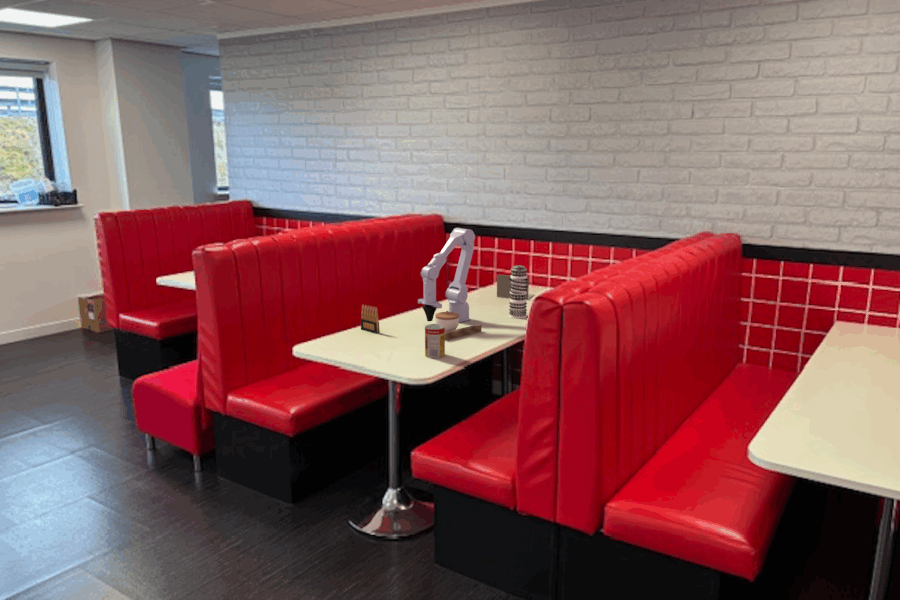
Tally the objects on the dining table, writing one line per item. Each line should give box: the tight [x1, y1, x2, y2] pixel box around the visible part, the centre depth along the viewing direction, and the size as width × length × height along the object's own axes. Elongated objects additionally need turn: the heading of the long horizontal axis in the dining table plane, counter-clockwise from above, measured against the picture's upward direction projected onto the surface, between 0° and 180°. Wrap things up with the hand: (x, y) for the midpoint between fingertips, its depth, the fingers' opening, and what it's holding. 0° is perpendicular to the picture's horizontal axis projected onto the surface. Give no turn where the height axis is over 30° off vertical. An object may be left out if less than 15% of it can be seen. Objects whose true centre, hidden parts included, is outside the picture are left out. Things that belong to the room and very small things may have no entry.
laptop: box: [496, 274, 535, 301], centre depth 380 cm, size 18×12×13 cm
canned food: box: [424, 323, 446, 359], centre depth 274 cm, size 8×8×12 cm
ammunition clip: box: [360, 303, 381, 334], centre depth 309 cm, size 11×2×12 cm, turn 48°
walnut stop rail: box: [445, 323, 483, 341], centre depth 303 cm, size 22×2×3 cm, turn 132°
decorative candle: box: [508, 264, 528, 319], centre depth 335 cm, size 9×9×25 cm
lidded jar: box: [434, 310, 460, 332], centre depth 310 cm, size 11×11×9 cm
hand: (429, 320), depth 319 cm, fingers closed
